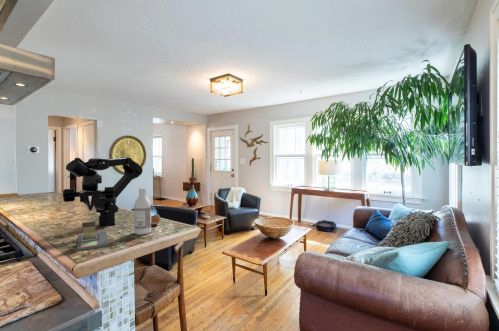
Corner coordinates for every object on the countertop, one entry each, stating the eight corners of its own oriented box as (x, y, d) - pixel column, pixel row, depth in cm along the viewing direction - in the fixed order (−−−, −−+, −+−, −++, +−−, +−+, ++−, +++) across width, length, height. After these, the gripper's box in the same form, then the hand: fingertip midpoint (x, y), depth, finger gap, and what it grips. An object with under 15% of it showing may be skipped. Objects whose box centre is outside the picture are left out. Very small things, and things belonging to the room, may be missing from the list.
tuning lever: (82, 238, 95) (81, 222, 91) (96, 236, 98) (95, 221, 93) (82, 241, 94) (81, 226, 90) (96, 239, 97) (95, 224, 92)
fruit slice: (149, 228, 116) (149, 218, 116) (139, 226, 119) (139, 216, 119) (163, 224, 123) (163, 214, 123) (154, 223, 126) (153, 213, 126)
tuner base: (80, 236, 104) (80, 227, 104) (106, 232, 109) (106, 224, 109) (77, 251, 87) (77, 240, 87) (108, 246, 92) (107, 236, 92)
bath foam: (151, 233, 108) (151, 188, 107) (134, 235, 105) (134, 189, 104) (150, 229, 114) (150, 186, 114) (134, 231, 111) (133, 187, 111)
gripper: (62, 169, 101) (60, 200, 92) (114, 169, 111) (116, 196, 102) (64, 186, 108) (62, 216, 99) (113, 184, 118) (115, 211, 109)
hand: (90, 209), depth 102 cm, fingers closed
